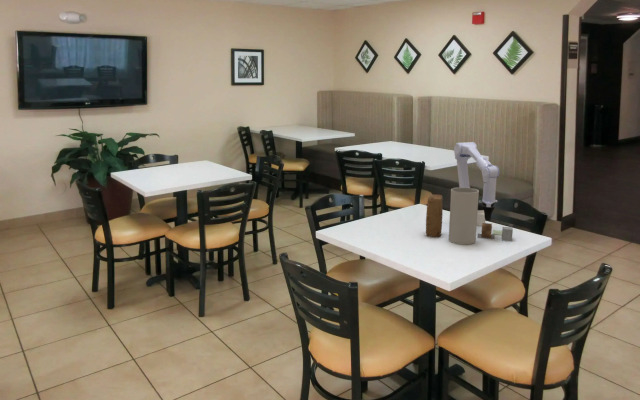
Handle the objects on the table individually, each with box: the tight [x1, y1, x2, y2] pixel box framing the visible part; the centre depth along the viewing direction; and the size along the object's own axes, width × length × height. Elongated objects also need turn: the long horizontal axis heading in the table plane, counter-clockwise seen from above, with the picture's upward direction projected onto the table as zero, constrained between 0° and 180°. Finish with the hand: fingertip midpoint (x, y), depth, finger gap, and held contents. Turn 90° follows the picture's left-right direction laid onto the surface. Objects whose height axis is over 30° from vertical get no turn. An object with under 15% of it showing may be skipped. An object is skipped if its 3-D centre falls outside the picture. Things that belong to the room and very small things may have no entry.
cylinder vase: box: [448, 187, 480, 246], centre depth 253 cm, size 12×12×25 cm
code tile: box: [477, 233, 496, 240], centre depth 263 cm, size 8×8×1 cm
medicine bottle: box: [477, 201, 486, 227], centre depth 283 cm, size 7×7×12 cm
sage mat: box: [492, 229, 502, 236], centre depth 268 cm, size 8×8×1 cm
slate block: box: [501, 226, 514, 242], centre depth 257 cm, size 4×4×6 cm
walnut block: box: [480, 222, 493, 238], centre depth 262 cm, size 4×4×6 cm
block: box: [425, 194, 444, 238], centre depth 265 cm, size 11×8×20 cm
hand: (487, 218), depth 261 cm, fingers open, 7 cm apart
